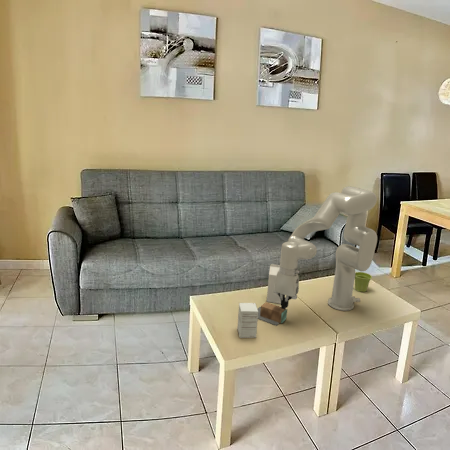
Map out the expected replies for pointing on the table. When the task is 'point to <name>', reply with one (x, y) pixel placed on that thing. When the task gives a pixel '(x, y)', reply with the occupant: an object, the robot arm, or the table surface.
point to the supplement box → (247, 320)
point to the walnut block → (273, 312)
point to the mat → (266, 318)
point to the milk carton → (273, 284)
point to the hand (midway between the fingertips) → (284, 307)
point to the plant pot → (362, 281)
